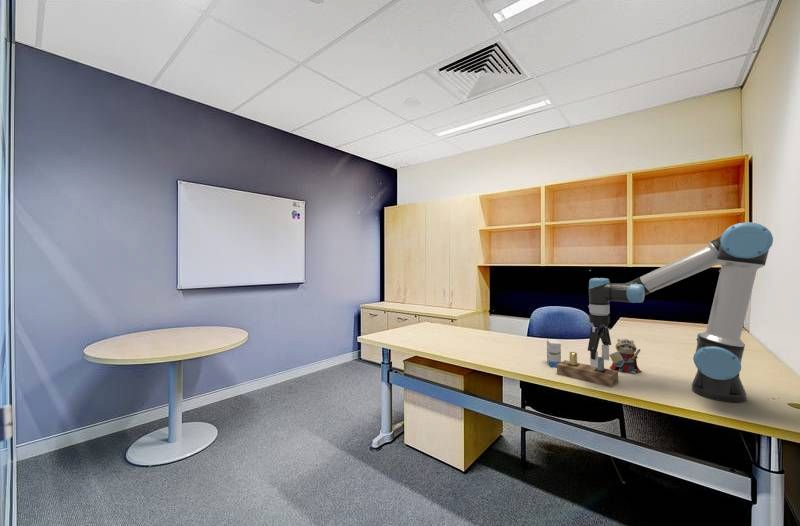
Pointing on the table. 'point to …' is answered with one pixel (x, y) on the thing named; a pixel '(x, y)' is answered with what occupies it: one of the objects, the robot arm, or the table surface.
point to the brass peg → (573, 359)
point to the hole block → (588, 373)
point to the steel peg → (600, 365)
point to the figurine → (625, 356)
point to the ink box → (553, 352)
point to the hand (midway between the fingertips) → (600, 363)
